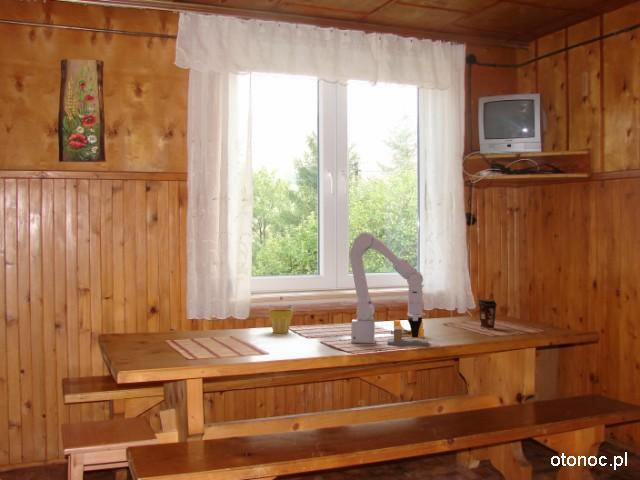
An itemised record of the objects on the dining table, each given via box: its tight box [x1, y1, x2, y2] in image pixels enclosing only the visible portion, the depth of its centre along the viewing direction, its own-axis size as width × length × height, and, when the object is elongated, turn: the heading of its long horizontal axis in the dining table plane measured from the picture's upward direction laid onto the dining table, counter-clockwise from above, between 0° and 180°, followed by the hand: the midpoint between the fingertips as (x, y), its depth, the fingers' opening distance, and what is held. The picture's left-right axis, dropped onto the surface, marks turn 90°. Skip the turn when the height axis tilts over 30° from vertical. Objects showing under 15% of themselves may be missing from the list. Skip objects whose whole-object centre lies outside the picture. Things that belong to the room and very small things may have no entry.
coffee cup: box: [478, 298, 498, 330], centre depth 313 cm, size 9×8×13 cm
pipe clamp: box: [393, 319, 425, 339], centre depth 290 cm, size 12×4×6 cm, turn 65°
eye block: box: [386, 325, 430, 347], centre depth 272 cm, size 16×8×6 cm, turn 83°
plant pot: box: [268, 308, 294, 334], centre depth 298 cm, size 10×10×10 cm
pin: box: [390, 328, 420, 339], centre depth 272 cm, size 11×3×4 cm, turn 83°
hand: (414, 336), depth 271 cm, fingers closed on pin, 3 cm apart
